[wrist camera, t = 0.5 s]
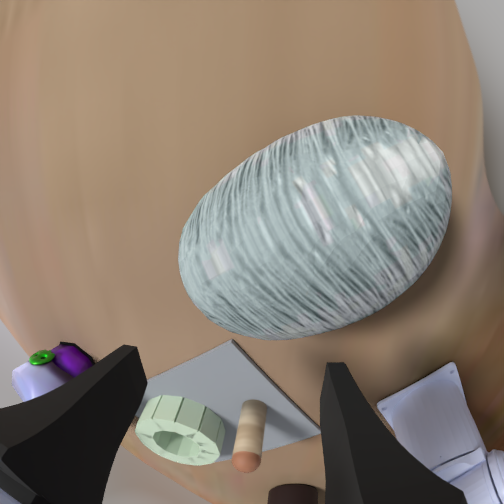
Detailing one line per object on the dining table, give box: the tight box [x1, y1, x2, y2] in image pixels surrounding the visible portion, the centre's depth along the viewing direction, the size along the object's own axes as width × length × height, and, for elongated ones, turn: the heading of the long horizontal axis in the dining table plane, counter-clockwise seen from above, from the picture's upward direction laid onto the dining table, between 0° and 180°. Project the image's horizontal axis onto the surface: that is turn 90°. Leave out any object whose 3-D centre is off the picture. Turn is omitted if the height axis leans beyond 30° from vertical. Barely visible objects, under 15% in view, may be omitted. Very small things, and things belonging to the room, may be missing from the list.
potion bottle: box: [12, 342, 95, 402], centre depth 21 cm, size 9×9×12 cm
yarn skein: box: [178, 116, 452, 340], centre depth 14 cm, size 14×10×10 cm
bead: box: [135, 395, 225, 466], centre depth 25 cm, size 8×8×3 cm
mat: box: [135, 339, 321, 462], centre depth 26 cm, size 14×16×1 cm
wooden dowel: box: [232, 399, 267, 473], centre depth 21 cm, size 2×2×7 cm
